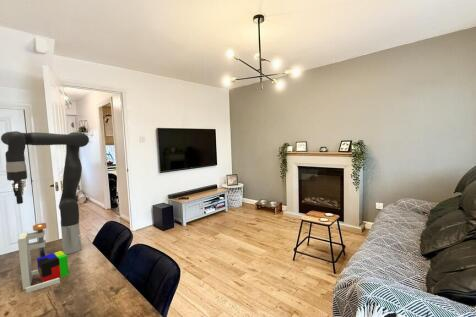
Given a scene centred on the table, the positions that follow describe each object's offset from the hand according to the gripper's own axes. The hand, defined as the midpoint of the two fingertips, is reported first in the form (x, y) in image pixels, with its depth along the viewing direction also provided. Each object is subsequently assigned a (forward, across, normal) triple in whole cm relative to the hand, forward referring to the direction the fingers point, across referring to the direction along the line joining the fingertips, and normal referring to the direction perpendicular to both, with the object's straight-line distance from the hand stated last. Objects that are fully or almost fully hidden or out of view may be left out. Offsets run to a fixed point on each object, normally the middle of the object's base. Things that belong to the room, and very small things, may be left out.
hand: (20, 203), depth 119 cm
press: (+37, +15, +8) cm, 41 cm away
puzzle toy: (+37, +15, +12) cm, 42 cm away
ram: (+25, +15, +8) cm, 30 cm away
